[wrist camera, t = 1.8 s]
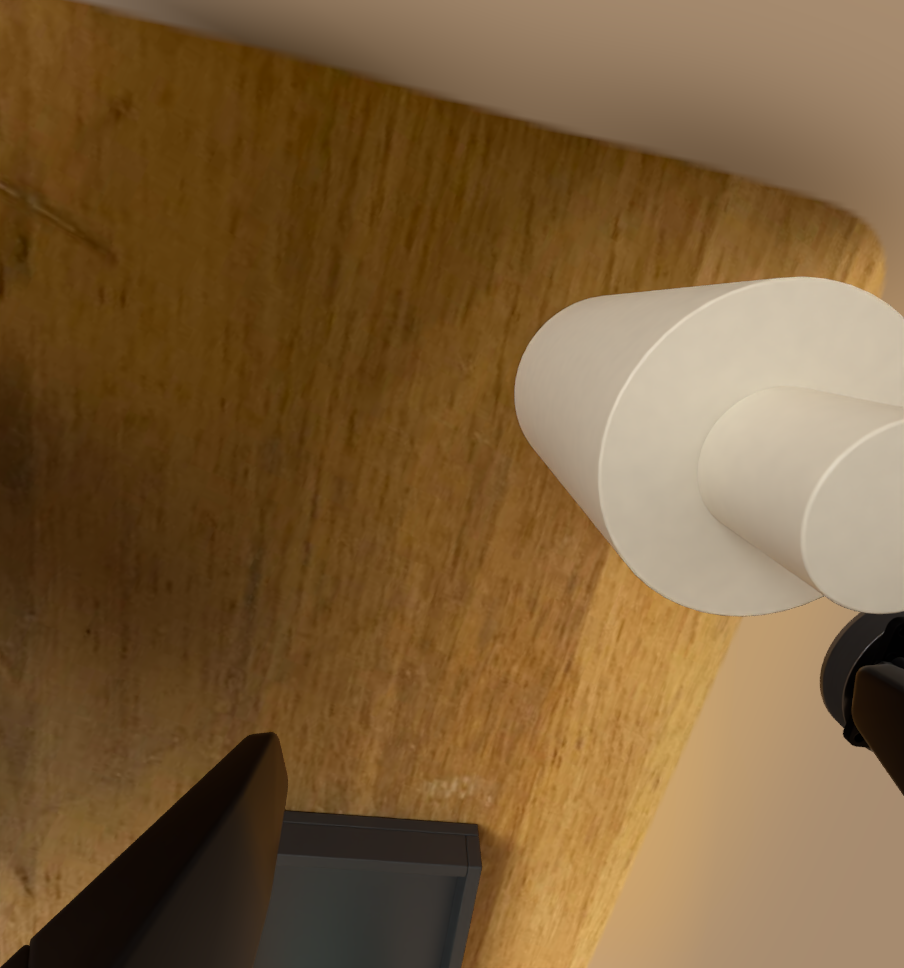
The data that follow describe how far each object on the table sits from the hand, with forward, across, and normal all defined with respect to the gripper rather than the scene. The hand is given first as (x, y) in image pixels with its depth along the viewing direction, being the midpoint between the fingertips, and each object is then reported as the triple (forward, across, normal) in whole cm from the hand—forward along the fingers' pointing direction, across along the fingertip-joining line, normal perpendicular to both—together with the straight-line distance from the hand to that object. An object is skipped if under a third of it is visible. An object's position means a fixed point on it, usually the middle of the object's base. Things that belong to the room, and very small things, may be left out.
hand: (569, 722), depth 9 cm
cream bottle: (+13, -4, -3) cm, 14 cm away
